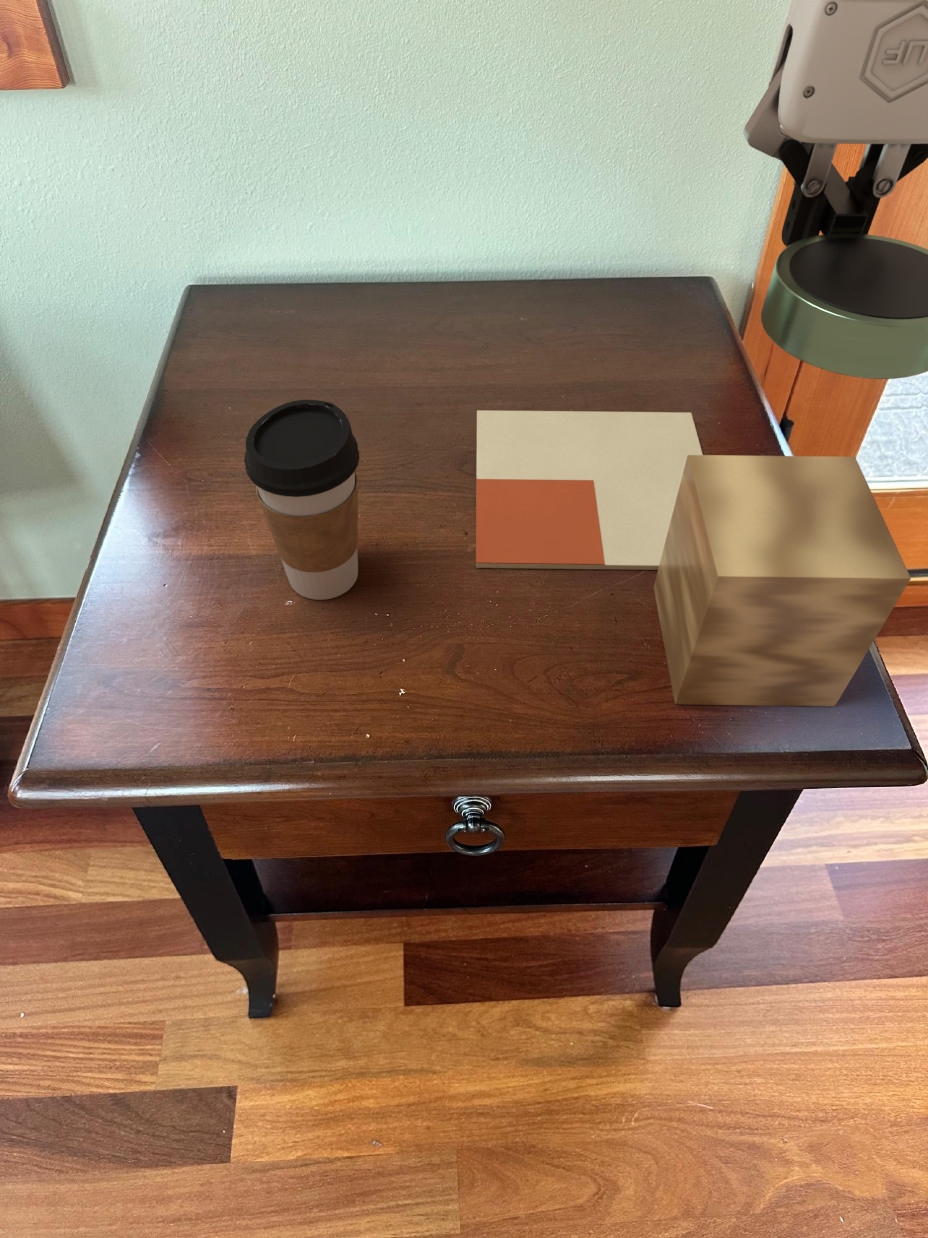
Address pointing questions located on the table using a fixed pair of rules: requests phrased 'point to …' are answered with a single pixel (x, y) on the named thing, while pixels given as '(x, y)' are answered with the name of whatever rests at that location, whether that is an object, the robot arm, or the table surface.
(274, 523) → the coffee cup
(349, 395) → the table surface
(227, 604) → the table surface
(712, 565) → the block
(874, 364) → the pan
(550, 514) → the mat
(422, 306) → the table surface
